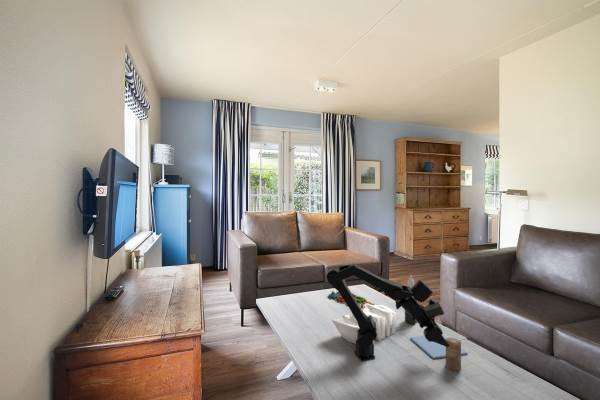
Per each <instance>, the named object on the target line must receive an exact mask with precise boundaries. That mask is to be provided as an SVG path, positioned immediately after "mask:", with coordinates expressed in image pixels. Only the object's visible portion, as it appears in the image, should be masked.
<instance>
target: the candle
mask: <svg viewBox="0 0 600 400" xmlns="http://www.w3.org/2000/svg"><path fill="white" fill-rule="evenodd" d="M414 285H415V281H414V278H413V276H412V273H411V274H410V275H409V278H408V280H407V286H409V287H410V288H411V287H412V286H414ZM412 297H413V296H412ZM413 298H414V297H413ZM414 299H415V298H414ZM415 300H416V299H415ZM416 301H417V300H416ZM417 302H418V301H417ZM404 323H405V324H409V325H412V326H414V325H415V326H416V323H417V322H416V321H415V320H413V319H412V317H411V316H410V315H409V314H408V313H407V312H406V311H405V310H404ZM417 324H418V323H417Z"/></svg>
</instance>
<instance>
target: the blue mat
mask: <svg viewBox="0 0 600 400" xmlns="http://www.w3.org/2000/svg"><path fill="white" fill-rule="evenodd" d="M442 336H443V337H444V338H445V340H446V338H448V337H447V336H445V335H444V334H442ZM410 340H411V341H412V342H413V343H414V344H416V346H417V347H419V348H420V349H421V350H422V352H424V353H425V354H426V355H428V356H429V357H430V358H431V359H432V360H437V359H443V358H444V359H446V347H445V346H443V345H440V344H438V343H435V342H429V341H428V340H427V339H426V338H425V336H424V335H419V336H411V337H410ZM468 354H469V353H468V352H467V350H465V349H464V348H462V347H461V356H466V355H467V356H468Z"/></svg>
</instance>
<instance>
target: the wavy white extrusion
mask: <svg viewBox="0 0 600 400" xmlns="http://www.w3.org/2000/svg"><path fill="white" fill-rule="evenodd" d="M361 309H362V310H363V312H364V313H365V315H367V316H368V317H369V316H370V315H371V316H372V318H373V320H374V321H375V322H376V328H377V330H376V331H377V337H376V339H375V340H376V341H378V342H380V341H382V340H384V339H386V337H389V336H391V335H393V334H395V333H396V326H397V320H398V313H396V311H394V310H393V309H392V308H390V307H387V306H386V305H383V304H382V305H381V304H376V305H375V304H374V306H373V305H370V304H367V303H366V304H364V305H363V307H362V308H361ZM342 319H343V321H342V320H340V319H338V318H334V319H333V320H332V319H331V322H332V323H333V325H334V326H335V328H336V330H337V331H338V333H339V334H340V336H341V337H342V338H343V339H344V340H346V341H347V342H350V343H352V344H354V345H356V340H357V331H358V330H359V325H358V322H357V320H356V318H355V317H354V315H353V314H352V313H351V316H350V315H349V314H345V315H342ZM375 340H374V341H373V344H374V345H375V344H376V342H375Z"/></svg>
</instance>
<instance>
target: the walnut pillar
mask: <svg viewBox="0 0 600 400" xmlns="http://www.w3.org/2000/svg"><path fill="white" fill-rule="evenodd" d="M446 341H447V343H448V344H449V347H446V357H445V366H446V368H447V369H449V370H451V371H454V372H458V371H461V370H462V355H461V348H462V342H461V340H460V339H458V338H456V337H447V338H446Z"/></svg>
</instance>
